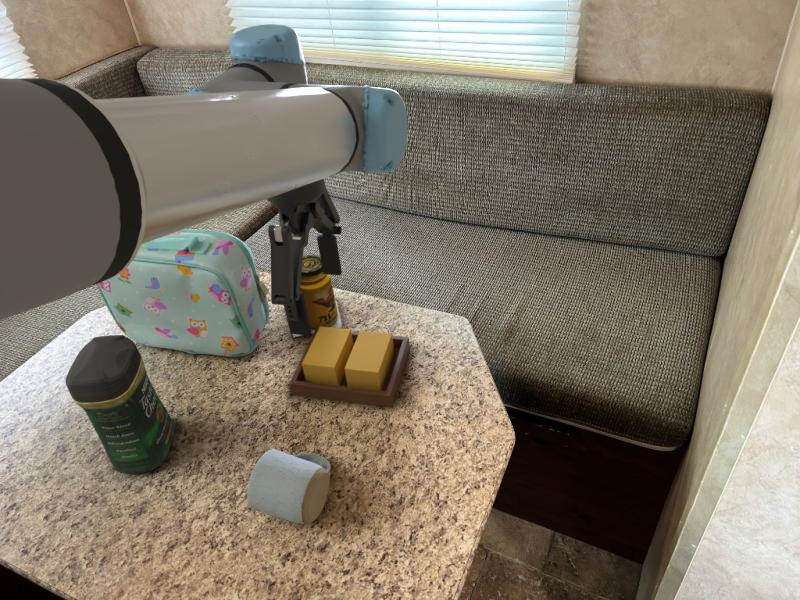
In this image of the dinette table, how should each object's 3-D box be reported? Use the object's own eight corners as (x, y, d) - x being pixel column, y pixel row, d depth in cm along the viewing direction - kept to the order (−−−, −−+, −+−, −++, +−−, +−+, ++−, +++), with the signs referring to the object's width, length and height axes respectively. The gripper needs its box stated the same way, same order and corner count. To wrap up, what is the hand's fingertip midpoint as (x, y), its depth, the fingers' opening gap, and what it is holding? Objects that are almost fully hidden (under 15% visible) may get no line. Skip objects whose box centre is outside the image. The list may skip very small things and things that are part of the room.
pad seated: (381, 393, 90) (378, 372, 87) (348, 389, 91) (344, 368, 88) (394, 353, 96) (392, 333, 93) (363, 350, 97) (360, 330, 95)
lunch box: (287, 324, 105) (259, 218, 91) (262, 367, 97) (228, 258, 84) (152, 309, 111) (107, 208, 97) (119, 348, 103) (66, 244, 90)
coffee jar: (167, 474, 83) (115, 380, 71) (109, 479, 83) (48, 386, 71) (182, 418, 90) (139, 325, 78) (130, 423, 90) (78, 331, 78)
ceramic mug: (312, 539, 73) (301, 502, 69) (253, 521, 76) (239, 485, 71) (346, 468, 81) (338, 431, 76) (292, 454, 84) (281, 417, 79)
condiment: (342, 328, 103) (332, 271, 95) (293, 338, 102) (278, 281, 94) (337, 301, 108) (326, 246, 101) (290, 311, 108) (276, 255, 100)
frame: (391, 408, 88) (389, 396, 87) (292, 395, 92) (288, 383, 90) (410, 348, 98) (408, 336, 96) (319, 339, 101) (316, 327, 100)
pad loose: (338, 388, 91) (334, 367, 89) (306, 384, 93) (301, 363, 90) (354, 349, 98) (351, 329, 95) (324, 346, 99) (319, 326, 96)
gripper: (279, 220, 63) (313, 365, 76) (349, 123, 82) (366, 253, 95) (214, 216, 65) (258, 359, 78) (297, 122, 83) (321, 250, 97)
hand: (318, 301), depth 86 cm, fingers open, 13 cm apart
